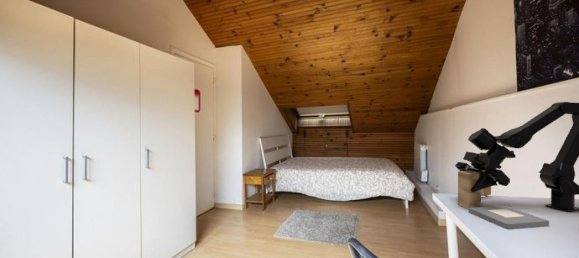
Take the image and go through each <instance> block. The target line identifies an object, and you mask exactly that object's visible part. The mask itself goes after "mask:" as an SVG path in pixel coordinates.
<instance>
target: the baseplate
mask: <svg viewBox="0 0 579 258" xmlns="http://www.w3.org/2000/svg"><path fill="white" fill-rule="evenodd" d="M468 213H470V214H472V215H474V216H477V217H479V218H481V219H484V220H486V221H488V222H490V223H493V224H495V225H496V226H499V227H502V228H503V229H505V230H515V228H516V229H526V228H525V227H529V228H537V227H538V228H539V227H540V226H542V227H549V226H550V220H547V219H545V218H541V217H538V216H536V215H533V214H530V213H527V212H524V211H521V210H518V209H516V208H513V207H509V206H507V205H492V206H491V205H490V206H481V207H475V208H469V210H468Z"/></svg>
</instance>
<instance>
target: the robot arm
mask: <svg viewBox="0 0 579 258" xmlns="http://www.w3.org/2000/svg"><path fill="white" fill-rule="evenodd" d="M565 115H571V119H572V126H571V128H570V130H569V131H568V133H567V135H566V138H565V139H564V141H563V142H562V144H561V147H560V148H559V151H558V153H557V154H556V156H555V159H554V160H553V161H552V162H550V163H547V162H544V163H543V164H542V168H541V169H540V170H539V171H538V173H539V179H540V180H541V182H542V183H543V184H544V186H545V188H546V189H550V203H548V204H545V207H548V208H551V209H557V210H560V211H564V212H567V213H568V212H569V213H570V212H571V213H572V212H575V211H579V207H576V206H575V203H576V202H575V201H576V198H575V197H576V195H579V184H578V183H577V182H575V177H576V171H575V164H576V163H577V161H578V159H579V102H571V101H560V102H554V103H552V105H550V106H549V107H547V108H546V109H545V110H543V111H542V112H540V113H539V114H537V115H535V116H534V117H533V118H531V119H529V120H528V121H526V122H525V123H524V124H522V125H520V126H518V127H514V128H512V129H508V130H507V131H504V132H503V133H501V134H500V135H496V136H495V135H494V134H492V133H490V132H489V130H488V129H486V128H485V127H482V128H480V129H479V130H477V131H475V132H474V133H471V134H470V135H469V136H468V139H467V140H468V141H469V142H470V143H471V144H472V145H473V146H475V147H477V148H478V149H479V150H480V153H476V152H472V151H465V154H464V156H463V157H462V158H463V161H467V162H463V161H457V163H456V164H455V165H454V166H455V168H456V169H457V170H458V171H473V172H477V173H480V178H479V179H478V181H477V182H476V183H475V185H474V186H473V187H472V189H471V191H472V192H476V191H479V190H481V189H484V188H487V187H491V188H492V187H493V186H496V187H497V186H498V185H500V186H503V187H507V186H508V185H510V182H511V178H510V176H508V175H507V174H506V173H505V172H504V171H503V170H502V166H501V164H502V163H503V162H504V161H505V160H506V158H507V159H515V158H516V154H515V151H514V150H510V149H509V148H512V149H522V148H524V147H525V146H526V145H527V144H529V142H530V141H531V140H532V139H533V137H534V135H536V134H537V133H538V132H540V131H542V130H543V129H545V128H546V127H548V126H549V125H551V124H552V123H554V122H555V121H557V120H558V119H560V118H562V117H563V116H565ZM481 151H486V152H481ZM468 162H469V163H468ZM469 164H471V165H472V166H474V168H472V167H471V166H470V165H469Z"/></svg>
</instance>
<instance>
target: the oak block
mask: <svg viewBox="0 0 579 258" xmlns="http://www.w3.org/2000/svg"><path fill="white" fill-rule="evenodd" d="M479 178H480V173H477V172H473V171H459V170H458V171H457V205H458V206H460V207H462V208H464V209H467V210H468V211H469V208H475V207H482V197H481V190H479V191H476V192H472V191H471V189H472V187H473V186H474V185H475V183H476V182H477V181H478V179H479Z"/></svg>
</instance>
